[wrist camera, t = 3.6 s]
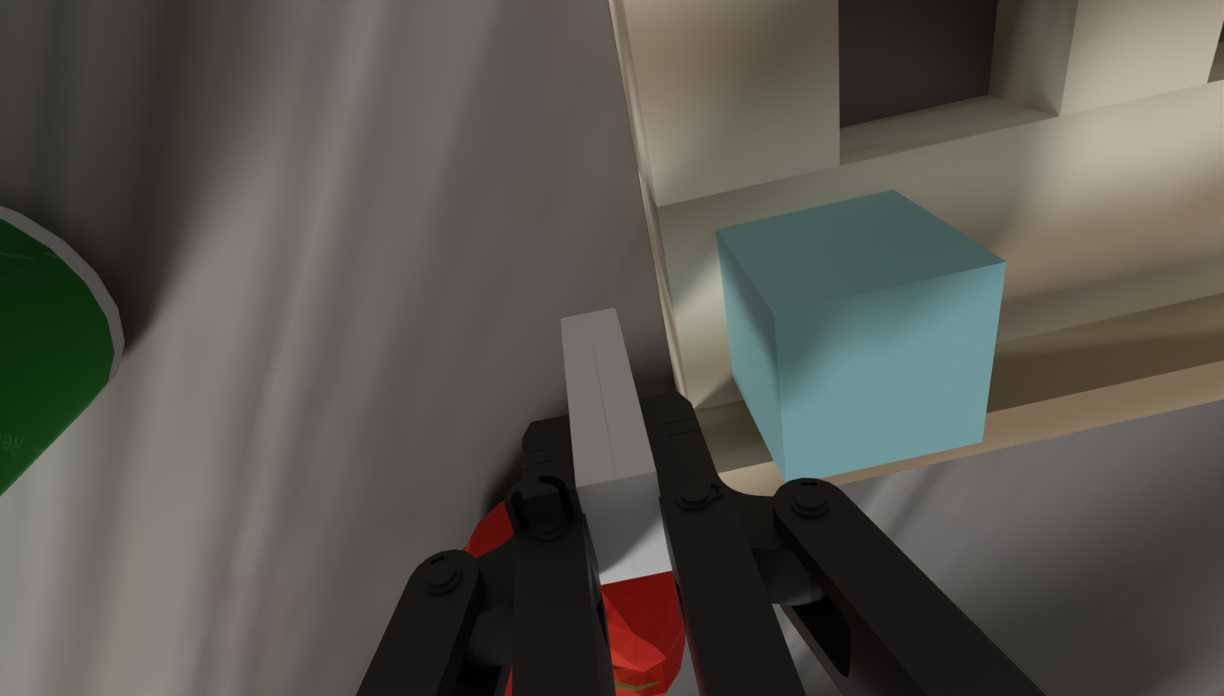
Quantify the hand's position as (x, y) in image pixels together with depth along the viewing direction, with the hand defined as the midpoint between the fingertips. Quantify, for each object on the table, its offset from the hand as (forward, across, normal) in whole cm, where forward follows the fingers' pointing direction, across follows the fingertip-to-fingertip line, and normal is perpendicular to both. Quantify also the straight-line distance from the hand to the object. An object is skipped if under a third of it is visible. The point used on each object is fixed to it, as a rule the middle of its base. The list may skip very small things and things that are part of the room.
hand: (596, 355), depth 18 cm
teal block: (+1, +6, 0) cm, 7 cm away
